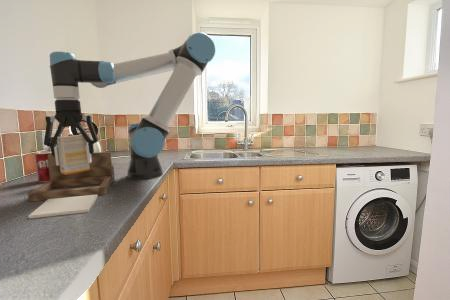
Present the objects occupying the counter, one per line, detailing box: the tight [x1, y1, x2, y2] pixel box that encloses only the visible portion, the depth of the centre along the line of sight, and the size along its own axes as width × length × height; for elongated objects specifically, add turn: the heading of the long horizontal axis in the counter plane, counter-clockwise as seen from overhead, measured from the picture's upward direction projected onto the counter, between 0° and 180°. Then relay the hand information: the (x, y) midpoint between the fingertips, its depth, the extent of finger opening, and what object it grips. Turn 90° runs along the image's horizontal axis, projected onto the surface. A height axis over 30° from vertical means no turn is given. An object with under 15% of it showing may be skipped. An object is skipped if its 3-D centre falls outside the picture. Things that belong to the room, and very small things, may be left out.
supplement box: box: [57, 134, 90, 175], centre depth 88 cm, size 8×5×13 cm, turn 141°
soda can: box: [34, 150, 52, 184], centre depth 104 cm, size 7×7×12 cm
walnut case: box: [27, 151, 116, 202], centre depth 90 cm, size 23×20×12 cm
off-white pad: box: [28, 194, 99, 219], centre depth 74 cm, size 14×14×1 cm
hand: (74, 163), depth 89 cm, fingers closed on supplement box, 9 cm apart
